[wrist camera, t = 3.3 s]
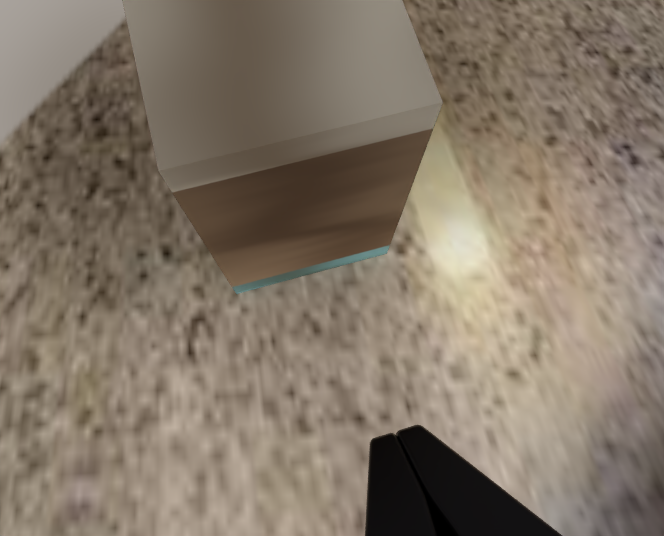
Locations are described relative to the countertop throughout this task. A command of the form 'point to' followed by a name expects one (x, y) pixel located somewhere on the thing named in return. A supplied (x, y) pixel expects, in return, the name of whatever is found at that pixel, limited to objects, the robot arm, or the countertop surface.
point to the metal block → (285, 125)
